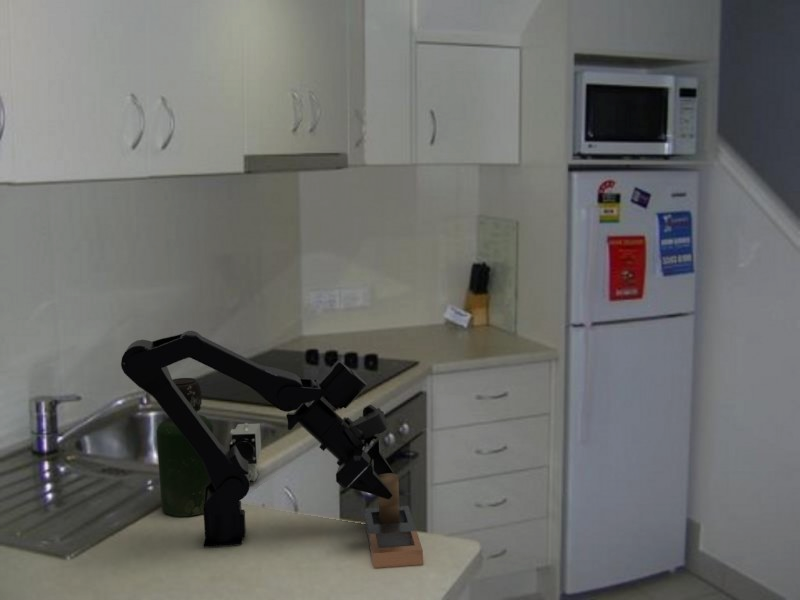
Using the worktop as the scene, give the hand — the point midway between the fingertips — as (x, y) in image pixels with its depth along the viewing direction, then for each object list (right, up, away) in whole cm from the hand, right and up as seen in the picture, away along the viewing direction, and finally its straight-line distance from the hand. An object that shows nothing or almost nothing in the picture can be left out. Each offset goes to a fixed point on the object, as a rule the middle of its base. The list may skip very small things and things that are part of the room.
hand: (392, 487), depth 161 cm
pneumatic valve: (-31, -5, +31) cm, 44 cm away
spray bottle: (-39, -7, +15) cm, 43 cm away
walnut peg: (-1, -8, +1) cm, 8 cm away
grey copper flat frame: (0, -9, -4) cm, 9 cm away
